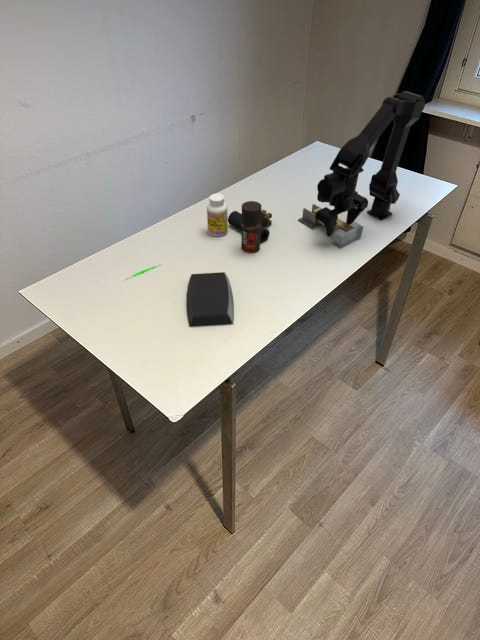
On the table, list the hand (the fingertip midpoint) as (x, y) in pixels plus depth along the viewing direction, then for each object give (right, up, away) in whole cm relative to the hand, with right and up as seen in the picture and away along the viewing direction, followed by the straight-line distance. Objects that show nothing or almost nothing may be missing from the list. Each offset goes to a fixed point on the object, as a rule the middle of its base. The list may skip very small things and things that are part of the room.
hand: (338, 231), depth 146 cm
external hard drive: (-41, -24, -22) cm, 52 cm away
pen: (-62, -15, -13) cm, 65 cm away
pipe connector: (-27, +1, +4) cm, 28 cm away
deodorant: (-29, -6, -4) cm, 30 cm away
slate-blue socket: (+2, -3, -1) cm, 4 cm away
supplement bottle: (-40, 0, +3) cm, 40 cm away
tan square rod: (-2, +2, +2) cm, 3 cm away
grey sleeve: (-7, +5, +7) cm, 11 cm away
